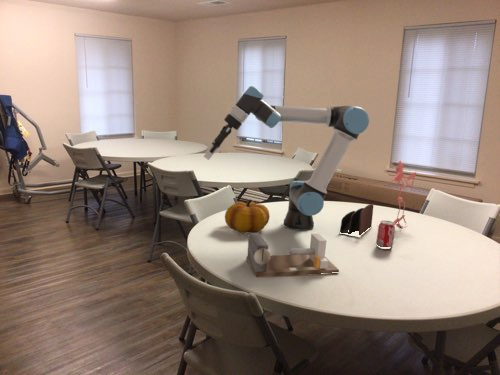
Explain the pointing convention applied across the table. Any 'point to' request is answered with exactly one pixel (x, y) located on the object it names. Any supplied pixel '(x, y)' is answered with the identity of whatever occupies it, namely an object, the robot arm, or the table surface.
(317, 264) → the orange flat block
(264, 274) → the bench
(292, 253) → the white stepped block
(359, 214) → the letter holder
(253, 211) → the decorative pumpkin
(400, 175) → the figurine
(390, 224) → the soda can
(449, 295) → the table surface
